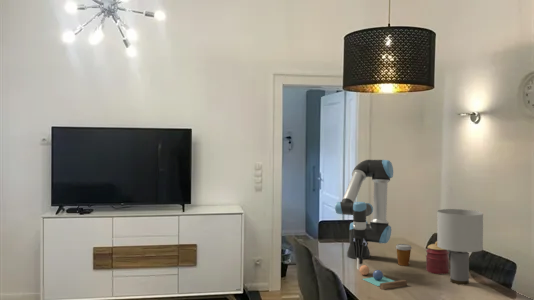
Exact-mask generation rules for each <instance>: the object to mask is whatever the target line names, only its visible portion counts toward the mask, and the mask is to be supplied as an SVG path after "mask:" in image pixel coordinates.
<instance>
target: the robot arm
mask: <svg viewBox="0 0 534 300" xmlns="http://www.w3.org/2000/svg"><path fill="white" fill-rule="evenodd" d="M393 177H394V167H393V164H392V162H391V160H388V159H365V160H363V161H361V162H360V163H358V164H357V165H356V166H355V167H354V169H352V173H351V179H350V181H349V184H348V186H347V188H346V191H345V193H344V195H343V197H342V199H341V201H337V202H336V203H335V205H334V209H335V213H336V214H338V215H341V216H343V215H345V216H352V219H353V220H352V221H353V222H350V224H349V245H348V247H347V248H348V249H347V251H346V256H347V258H350V259H356V269H357V270H358V271H360V270H359V269H360V267H361V266H362V265H363V261H364V260H365V259H370V258H371V252H370V248H369V246H368V245H369V242H370V243H375V244H388V243H389V241H390V239H391V236H392V226H391V225H389V221H387V208H388V207H387V206H388V183H389V182H390V181H391V179H392V178H393ZM367 178H371V181H372V182H373V202H372V204H371V203H370V202H369V203H368V202H365V201H356V199H357V197H358V195H359V192H360V189H361V187H362V184H363V182H364V181H365V180H367ZM371 215H372V219H371V220H370V222H368V221H367V217H368V216H371Z"/></svg>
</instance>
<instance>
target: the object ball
mask: <svg viewBox="0 0 534 300" xmlns="http://www.w3.org/2000/svg"><path fill="white" fill-rule="evenodd" d="M383 276H384V273H383V272H382V271H381V270H380V269H376V270H374V271H373V272H372V277H374V279H375V280H381V279H382V278H383Z"/></svg>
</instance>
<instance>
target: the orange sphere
mask: <svg viewBox="0 0 534 300" xmlns="http://www.w3.org/2000/svg"><path fill="white" fill-rule="evenodd" d="M358 271H359V273H360V275H362V276H366V275H368V274H369V272H370V267H369V266H367V265H365V264H362V266H361V267H360V269H359V270H358Z"/></svg>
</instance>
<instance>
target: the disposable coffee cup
mask: <svg viewBox="0 0 534 300" xmlns="http://www.w3.org/2000/svg"><path fill="white" fill-rule="evenodd" d="M395 249H396V255H397V256H396V257H397V264H398V266H402V267H407V266H408V267H409V265H410V259H411V252H412V246H411V245H410V244H408V243H407V244H405V243H398V244H396V246H395Z"/></svg>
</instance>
